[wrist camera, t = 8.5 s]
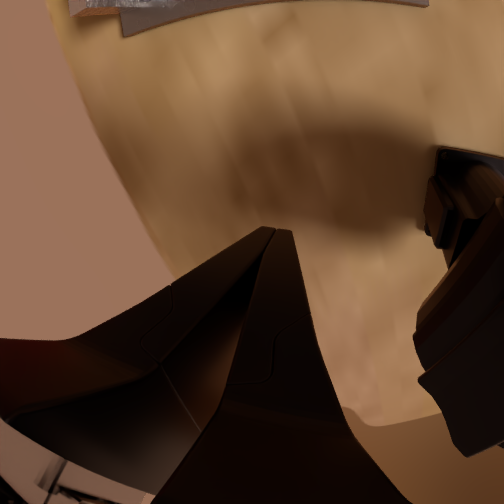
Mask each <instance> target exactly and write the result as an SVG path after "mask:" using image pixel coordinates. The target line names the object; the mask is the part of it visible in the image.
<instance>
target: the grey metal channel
mask: <svg viewBox="0 0 504 504" xmlns="http://www.w3.org/2000/svg"><path fill="white" fill-rule="evenodd" d="M284 1H298V0H68V3H69V12H70V17H79V16H89V15H103V14H120V15H121V22H122V28H123V34H124V37H125V36H133V35H136V34H139V33H141V32H144V31H147V30H150V29H153V28H156V27H159V26H162V25H166V24H169V23H172V22H176V21H179V20H183V19H187V18H190V17H194V16H198V15H203V14H207V13H211V12H216V11H221V10H226V9H232V8H237V7H243V6H250V5H257V4H265V3H274V2H284ZM364 1H378V2H388V3H397V4H404V5H411V6H417V7H423V8H426V7H428V6H429V0H364Z"/></svg>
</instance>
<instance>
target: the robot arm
mask: <svg viewBox="0 0 504 504" xmlns="http://www.w3.org/2000/svg"><path fill="white" fill-rule="evenodd" d="M444 152H446V153H447V156H446V157H445V158H442V154H443V153H444ZM424 214H425V217H426V220H425V225H424V230H425V233H426V235H427V236H431V237H432V239H433V243H434V245H435V247H436V248H437V249H442V251H443V254H444V257H445V261H446V264H447V268H448V271H447V273H446V274H445V275H444V277H443V278H442V279H441V281H440V282H439V283H438V284H437V286H436V287H435V288H434V289H433V291H432V292H431V293H430V294H429V296H428V297H427V298H426V299H425V301H424V302H423V303H422V305H421V307H420V309H419V311H418V313H417V322H416V332H415V333H414V334H413V341H414V346H415V350H416V353H417V355H418V358H419V360H420V363H421V365H422V367H423V368H424V370H425V373H423V374H422V375H421V376H420V377H418V383H419V384H420V385H421V386H422V387H423V388H424V389H425V390H426V391H427V392H428V393H429V394H430V395H431V396H432V397H433V399H434V400H435V402H436V403H437V405H438V406H439V408H440V409H441V411H442V414H443V416H444V418H445V421H446V424H447V427H448V430H449V432H450V435H451V439H452V442H453V444H454V445H455V447H456V448H457V449H458V450H459V451H460V452H461V453H462V454H463V455H464V456H465V457H472V456H474V455H476V454H479V453H481V452H483V451H485V450H488V449H490V448H492V447H494V446H496V445H497V446H499V447H501V448H503V449H504V158H500V157H496V156H491V155H487V154H482V153H477V152H472V151H467V150H461V149H456V148H450V147H440V148H439V149H438V150H437V153H436V161H435V169H434V176H431V177H430V178H429V181H428V188H427V194H426V200H425V205H424ZM146 493H150V494H152V495H156V496H155V498H154V499H153V500H152V502H151V503H150V504H412V503H411V502H409V501H408V500H407V499H406V498H405V497H404V496H403V495H402V494H401V493H400V491H399V490H398V489H397V488H396V487H395V485H394V484H393V483H392V482H391V481H390V479H389V478H388V477H387V476H386V475H385V474H384V472H383V471H382V470H381V469H380V467H379V466H378V465H377V464H376V463H375V462H374V460H373V459H372V458H371V456H370V455H369V454H368V453H367V452H366V450H365V449H364V448H363V447H362V445H361V444H360V443H359V442H358V440H357V439H356V438H355V436H354V435H353V433H352V431H351V429H350V427H349V425H348V423H347V421H346V419H345V416H344V414H343V412H342V409H341V406H340V403H339V401H338V398H337V395H336V392H335V390H334V387H333V384H332V382H331V379H330V376H329V374H328V371H327V368H326V366H325V363H324V360H323V357H322V354H321V351H320V348H319V345H318V341H317V337H316V333H315V329H314V325H313V320H312V316H311V312H310V307H309V303H308V298H307V293H306V289H305V285H304V280H303V276H302V271H301V267H300V263H299V259H298V254H297V250H296V246H295V242H294V238H293V234H292V231H291V230H286V229H277V230H276V229H275V228H272V227H265V226H261V227H259V228H258V229H256V230H255V231H253V232H251V233H250V234H248V235H247V236H245V237H243V238H242V239H240V240H239V241H237V242H235V243H234V244H232V245H231V246H229V247H228V248H226V249H224V250H223V251H221V252H220V253H218V254H216V255H215V256H213V257H212V258H210V259H209V260H207V261H205V262H204V263H202V264H201V265H199V266H198V267H196V268H194V269H193V270H191V271H190V272H188V273H187V274H185V275H184V276H182V277H180V278H179V279H177V280H176V281H174V282H173V283H172V284H171V286H170V285H168V286H166V287H165V288H163V289H162V290H160V291H159V292H157V293H155V294H154V295H152V296H151V297H149V298H147V299H146V300H144V301H143V302H141V303H139V304H137V305H135V306H133V307H132V308H130V309H128V310H126V311H124V312H123V313H121V314H119V315H117V316H115V317H113V318H111V319H110V320H107V321H106V322H104V323H102V324H100V325H98V326H96V327H94V328H92V329H91V330H89V331H87V332H85V333H83V334H81V335H79V336H76V337H73V338H70V339H66V340H56V341H53V340H49V341H48V340H25V339H7V338H0V504H141V502H142V500H143V498H144V496H145V494H146Z"/></svg>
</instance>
